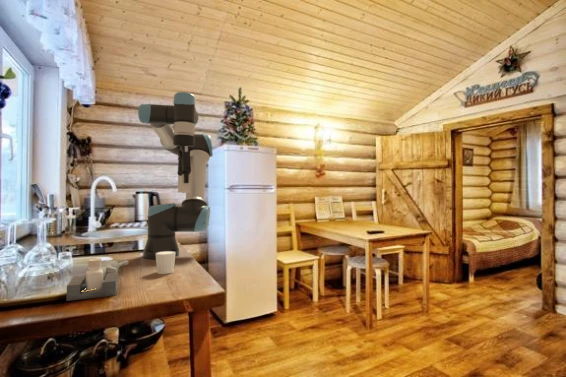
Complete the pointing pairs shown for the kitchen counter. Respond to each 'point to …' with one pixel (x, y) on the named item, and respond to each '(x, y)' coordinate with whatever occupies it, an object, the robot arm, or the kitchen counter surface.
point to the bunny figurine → (111, 266)
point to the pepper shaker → (94, 275)
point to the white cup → (165, 262)
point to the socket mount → (80, 284)
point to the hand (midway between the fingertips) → (183, 192)
